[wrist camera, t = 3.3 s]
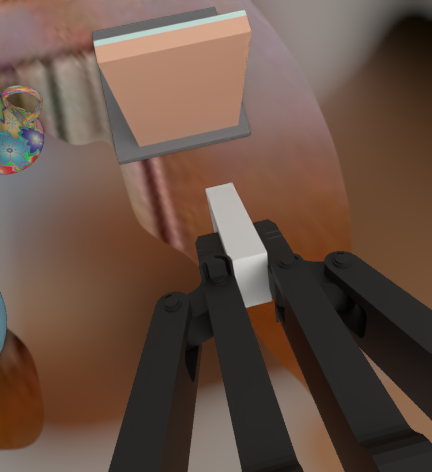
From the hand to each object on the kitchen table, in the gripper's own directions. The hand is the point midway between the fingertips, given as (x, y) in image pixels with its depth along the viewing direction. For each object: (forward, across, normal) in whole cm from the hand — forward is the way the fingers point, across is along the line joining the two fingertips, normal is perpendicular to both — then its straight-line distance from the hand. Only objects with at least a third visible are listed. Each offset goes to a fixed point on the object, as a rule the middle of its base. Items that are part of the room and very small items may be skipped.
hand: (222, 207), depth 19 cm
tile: (+23, 0, -2) cm, 23 cm away
